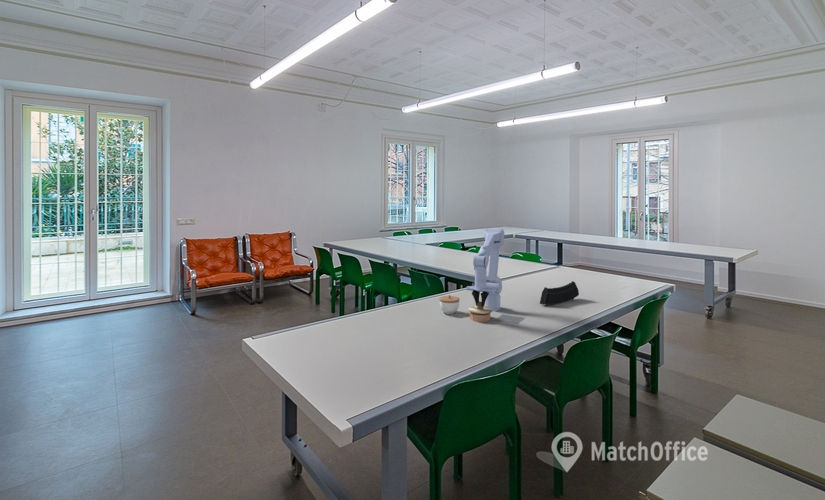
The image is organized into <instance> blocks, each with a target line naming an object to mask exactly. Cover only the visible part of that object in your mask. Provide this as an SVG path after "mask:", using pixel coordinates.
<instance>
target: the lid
mask: <svg viewBox="0 0 825 500" xmlns="http://www.w3.org/2000/svg"><path fill="white" fill-rule="evenodd" d="M481 302H482V301H481V300H479V302H477V306H476V305H474V306H473V305H472V306H469V307H468V309H467V310H468V312H469V313H470V312H472V313H477V314H487V313H490V314H491V313H492V312H493V311H492V308H490V307H486V306H485V305H484V306H483V307H482V306H481Z"/></svg>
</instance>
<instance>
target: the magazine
mask: <svg viewBox="0 0 825 500" xmlns="http://www.w3.org/2000/svg"><path fill="white" fill-rule="evenodd" d="M577 286H578V285H577V283H576V281H574V280H572V281H571V282H570V283H568V284H565V285H562V286H559V287H550V288H548V287H545V286H544V288H543V290H542V292H541V295H540V301H539V304H540V305H560V304H563V303H567V302H569V301H572V300H574V299H575V298H577V297H578V296H579V295H580V293H579V288H578V287H577Z"/></svg>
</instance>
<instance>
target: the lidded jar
mask: <svg viewBox="0 0 825 500" xmlns="http://www.w3.org/2000/svg"><path fill="white" fill-rule="evenodd" d="M439 307H440V310H441V311H442V312H443V314H446V315H453V314H455V313H456V312H457V311H458V310H459V307H460V298H459V297H457V296H454V295H453V296H452V295H450V294H449V295H444V296H440V297H439Z"/></svg>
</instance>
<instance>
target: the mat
mask: <svg viewBox="0 0 825 500" xmlns="http://www.w3.org/2000/svg"><path fill="white" fill-rule="evenodd" d="M525 319H526V317H521V316H515V315H509V314H504V313H503V314H501V315H500V316H497V317H496V318H495V319H494V322H495V321H496V322H502V323H507V324H515V325H518V324H520V323H521V322H522V321H523V320H525Z"/></svg>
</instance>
